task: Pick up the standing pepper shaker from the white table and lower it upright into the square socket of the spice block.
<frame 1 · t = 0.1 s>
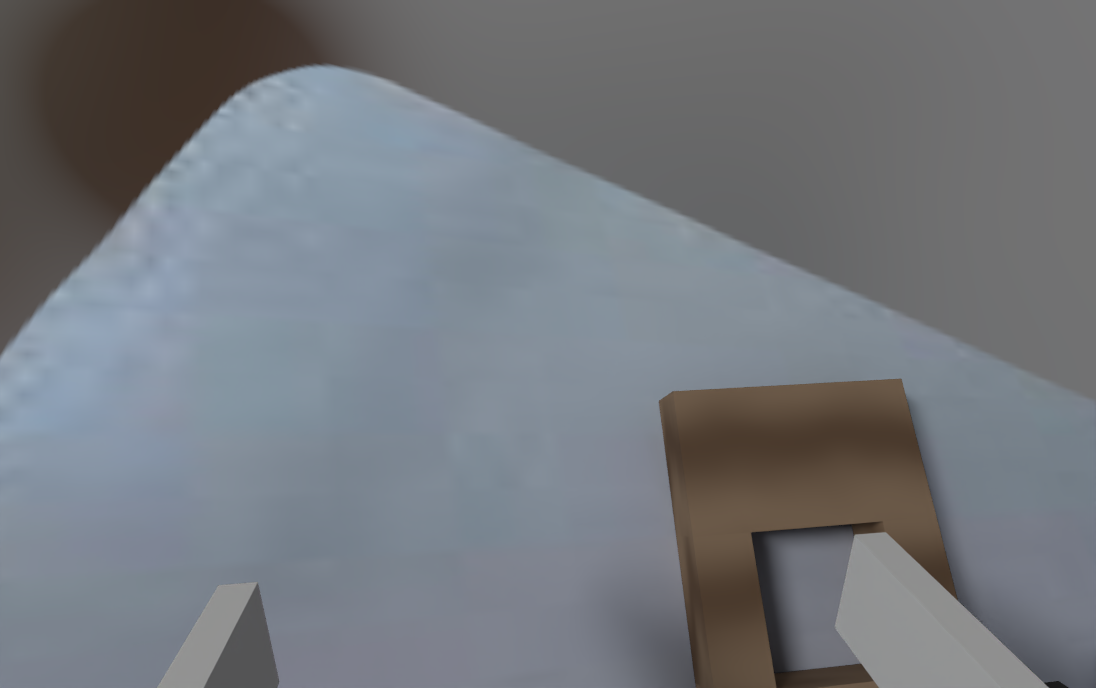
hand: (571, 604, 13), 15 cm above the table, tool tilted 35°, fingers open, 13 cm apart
spice block: (803, 594, 28), on the table
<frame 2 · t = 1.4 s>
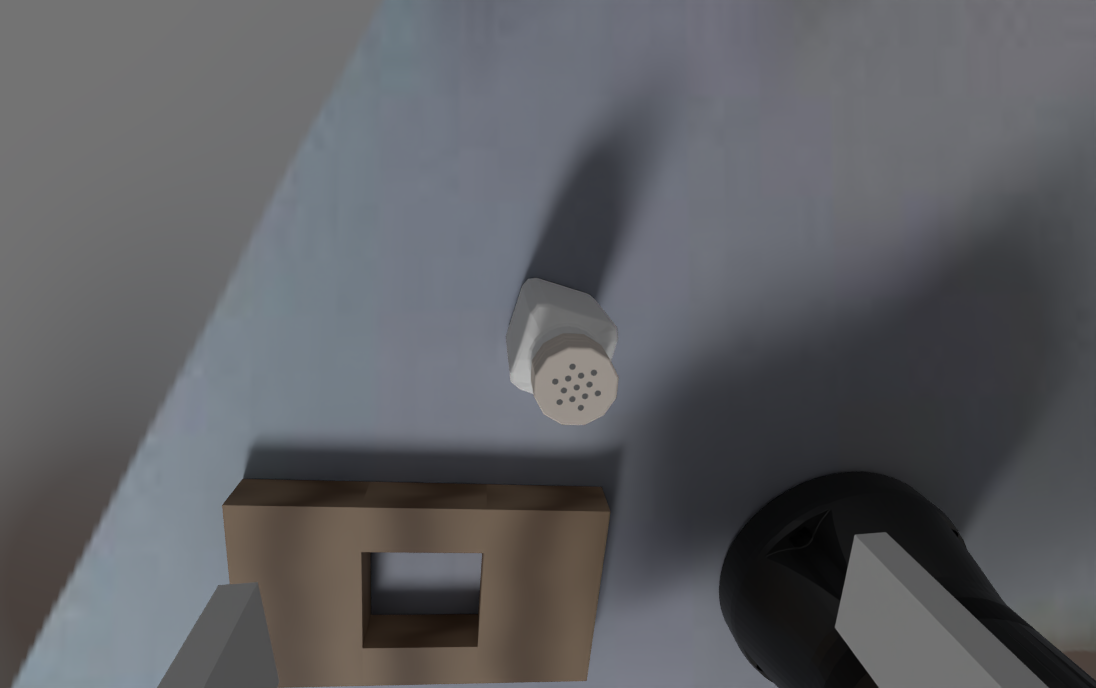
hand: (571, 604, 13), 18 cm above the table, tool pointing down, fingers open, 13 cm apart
pepper shaker: (549, 318, 30), on the table
spice block: (426, 570, 34), on the table
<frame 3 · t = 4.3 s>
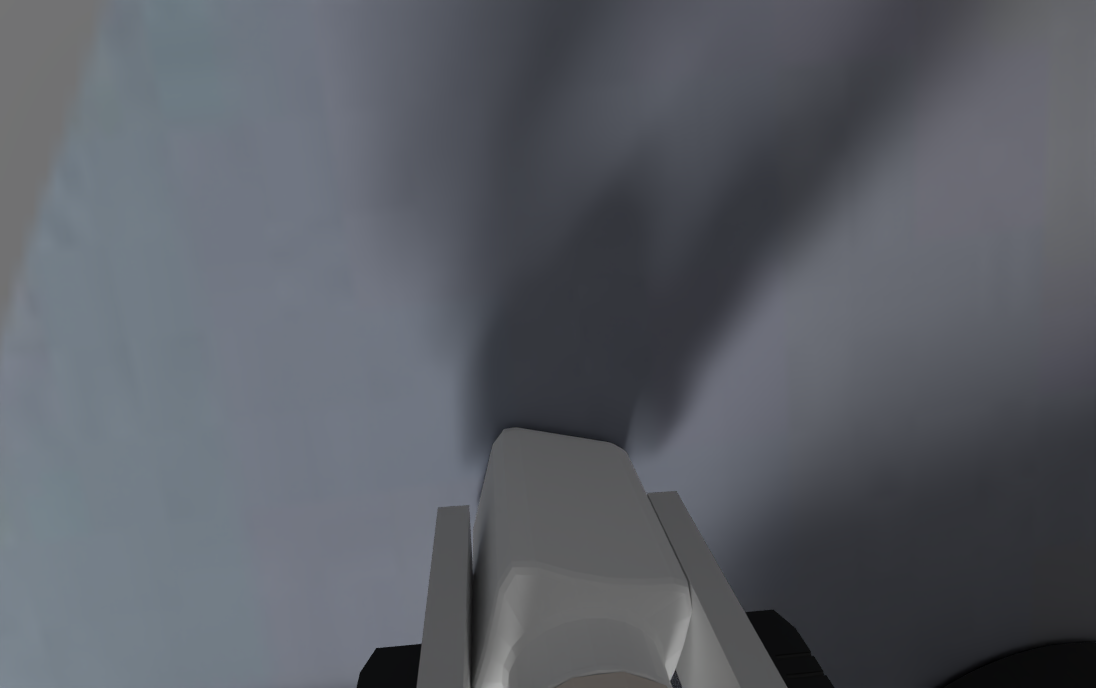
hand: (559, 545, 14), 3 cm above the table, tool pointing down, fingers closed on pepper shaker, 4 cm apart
pepper shaker: (547, 481, 17), on the table, touching gripper
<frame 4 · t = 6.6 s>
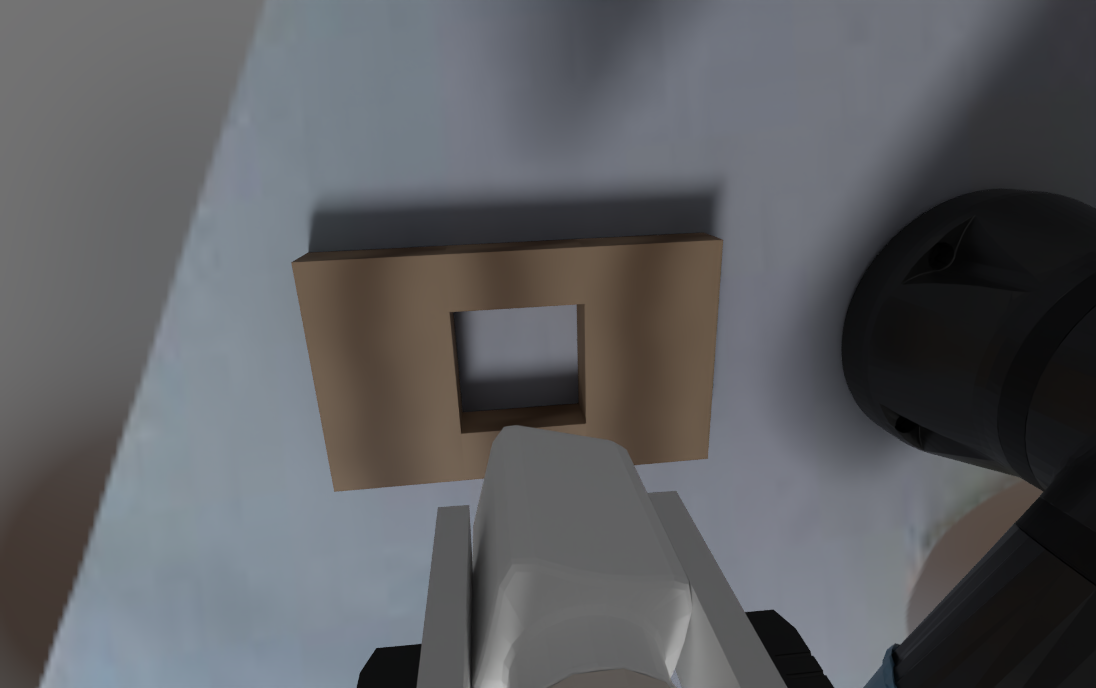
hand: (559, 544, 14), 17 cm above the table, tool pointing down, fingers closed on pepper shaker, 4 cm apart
pepper shaker: (547, 479, 17), point 14 cm above the table, touching gripper
spice block: (518, 353, 30), on the table
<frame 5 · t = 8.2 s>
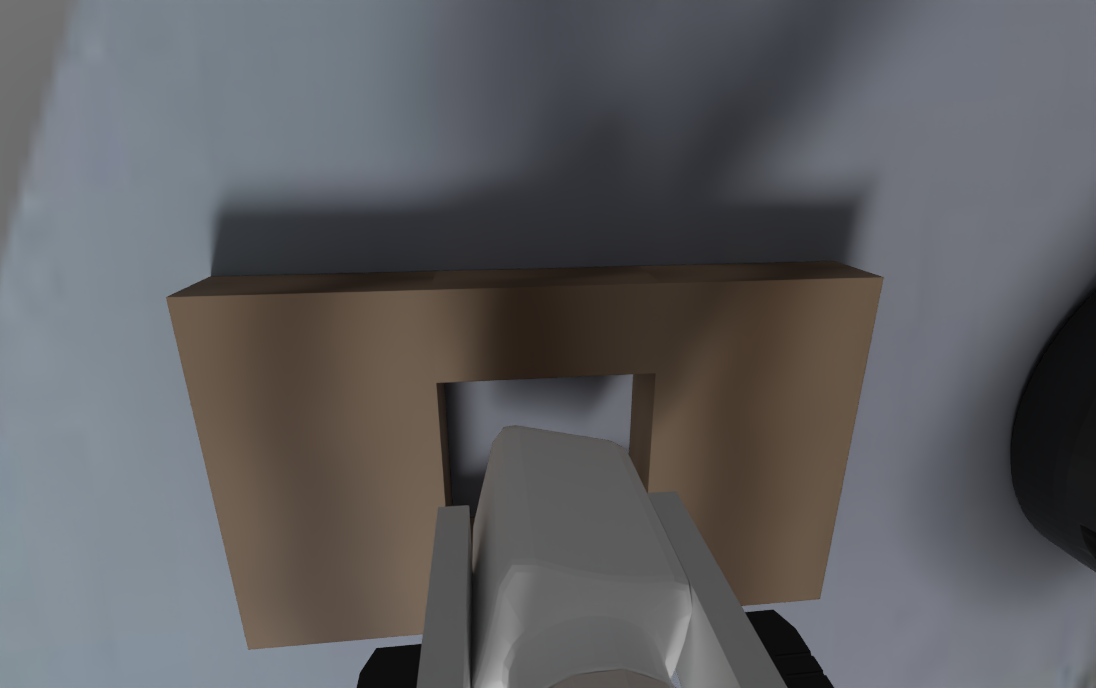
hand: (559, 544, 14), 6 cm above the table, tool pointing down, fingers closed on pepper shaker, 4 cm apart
pepper shaker: (547, 479, 17), point 3 cm above the table, touching gripper
spice block: (540, 435, 20), on the table
when the fingers open (4 cm above the table, at t = 9.2 s): pepper shaker stays where it is, resting in spice block.
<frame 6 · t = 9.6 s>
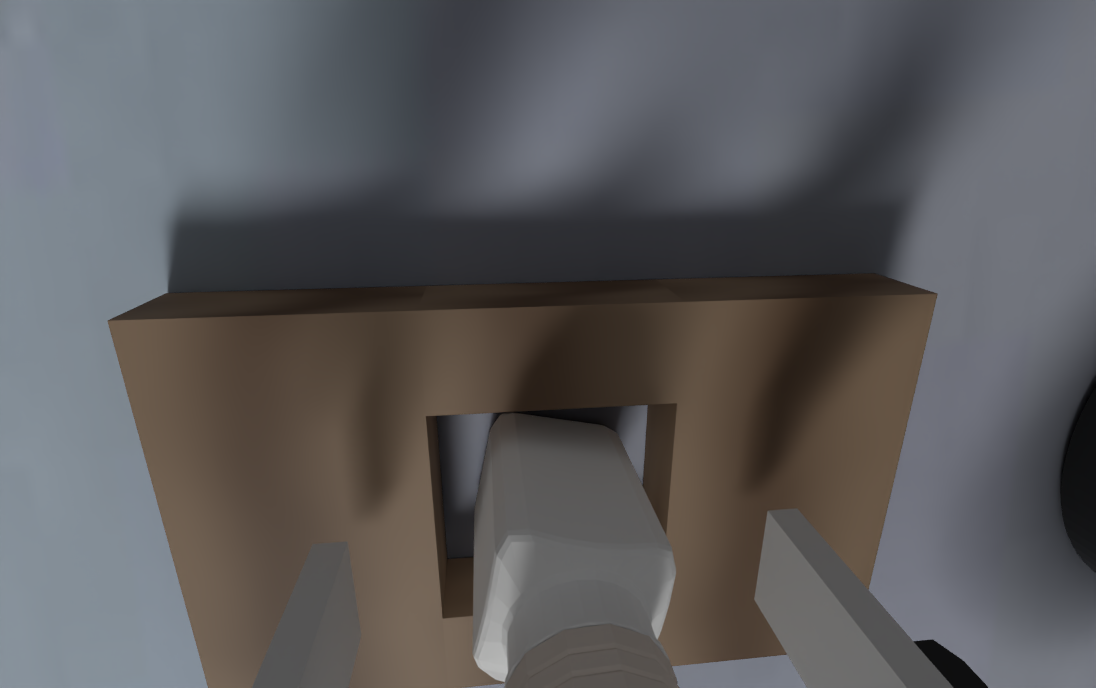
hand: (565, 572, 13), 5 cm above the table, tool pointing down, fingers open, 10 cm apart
pepper shaker: (543, 463, 18), resting in spice block
spice block: (544, 467, 18), on the table
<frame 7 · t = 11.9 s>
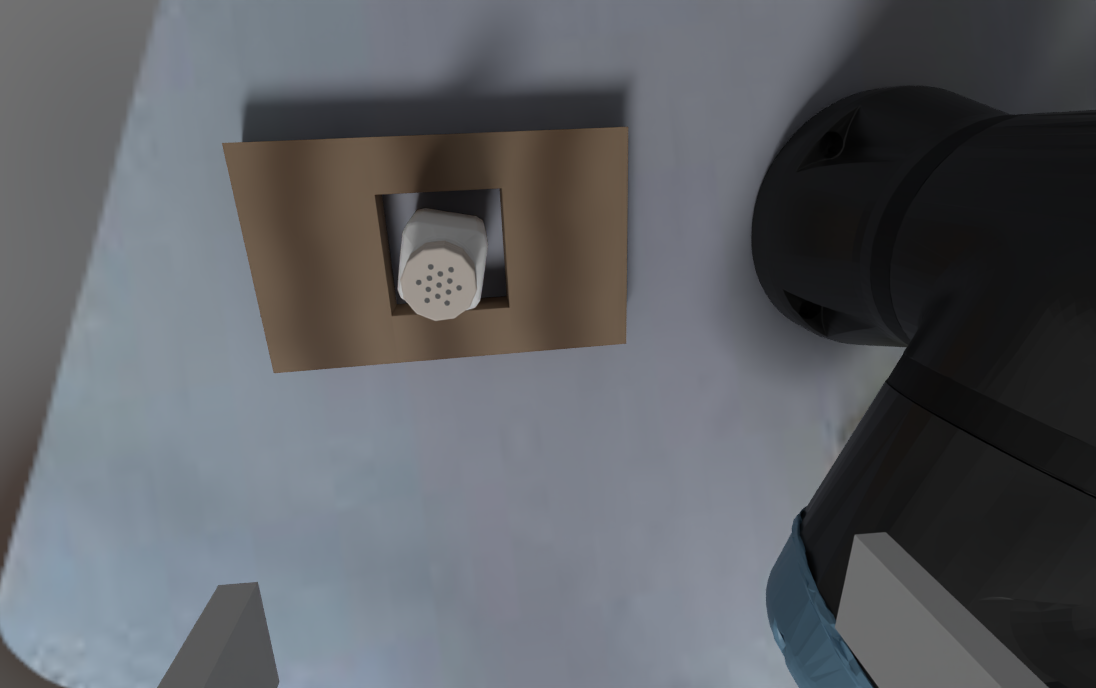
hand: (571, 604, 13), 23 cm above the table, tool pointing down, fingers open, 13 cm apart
pepper shaker: (447, 245, 33), resting in spice block
spice block: (447, 245, 32), on the table
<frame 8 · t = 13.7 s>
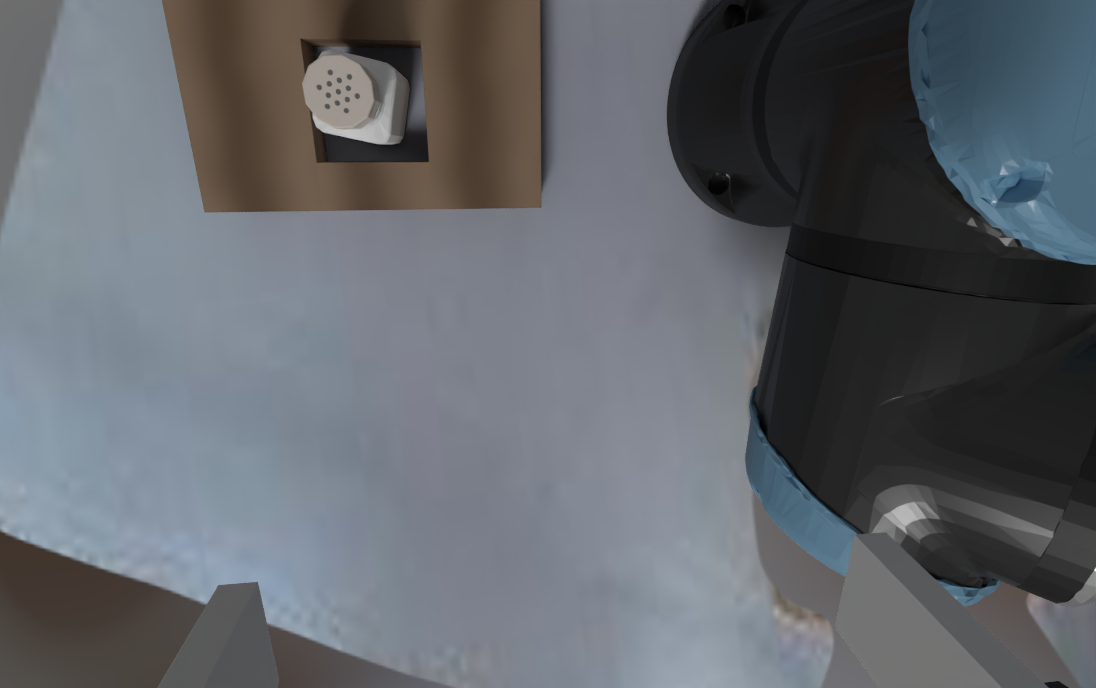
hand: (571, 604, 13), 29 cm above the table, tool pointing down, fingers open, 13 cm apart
pepper shaker: (375, 106, 35), resting in spice block
spice block: (375, 105, 35), on the table
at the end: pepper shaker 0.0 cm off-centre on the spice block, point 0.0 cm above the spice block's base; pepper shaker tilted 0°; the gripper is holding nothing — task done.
